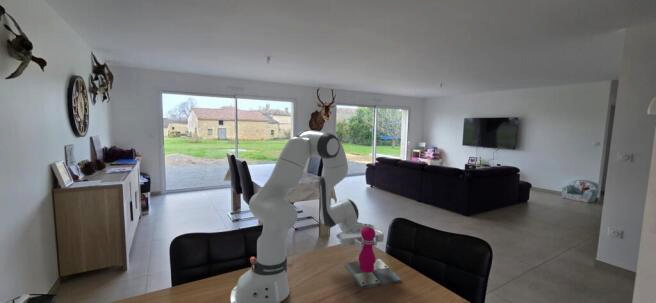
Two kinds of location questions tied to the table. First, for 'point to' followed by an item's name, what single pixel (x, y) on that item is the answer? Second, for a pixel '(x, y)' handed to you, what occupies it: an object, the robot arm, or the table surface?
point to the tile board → (372, 275)
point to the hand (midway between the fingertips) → (368, 244)
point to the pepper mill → (367, 250)
